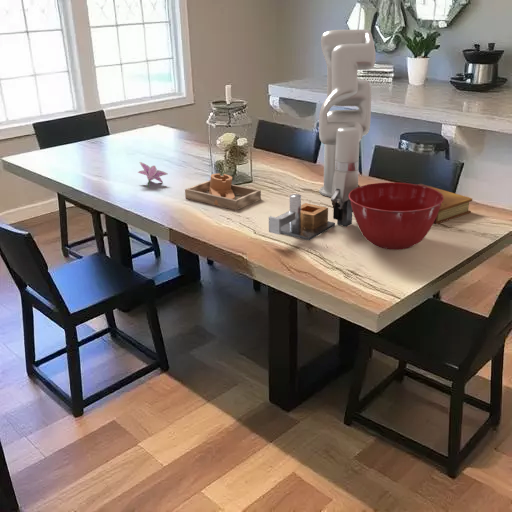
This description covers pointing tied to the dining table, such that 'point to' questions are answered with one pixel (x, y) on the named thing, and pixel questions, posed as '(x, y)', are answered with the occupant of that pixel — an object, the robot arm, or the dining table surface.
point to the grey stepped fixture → (301, 220)
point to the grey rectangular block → (346, 214)
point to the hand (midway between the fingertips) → (344, 215)
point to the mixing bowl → (395, 213)
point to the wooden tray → (247, 193)
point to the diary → (451, 205)
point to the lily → (151, 172)
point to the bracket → (221, 186)
